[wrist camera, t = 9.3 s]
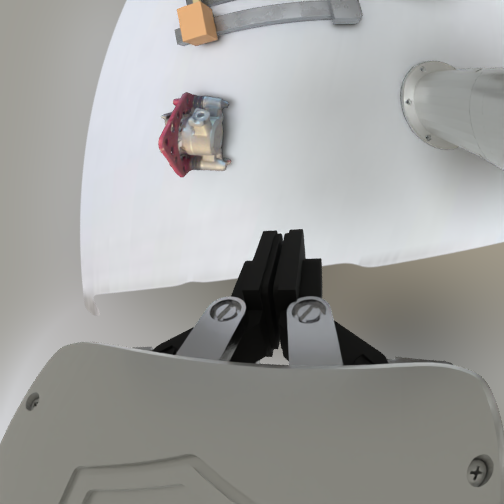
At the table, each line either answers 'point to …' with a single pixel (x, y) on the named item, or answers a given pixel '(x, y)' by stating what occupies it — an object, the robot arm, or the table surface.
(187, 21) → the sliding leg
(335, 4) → the fixed leg
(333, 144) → the table surface
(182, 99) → the brake caliper
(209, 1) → the strip
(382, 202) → the table surface
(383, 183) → the table surface
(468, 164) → the table surface
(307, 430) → the robot arm
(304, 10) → the rail
